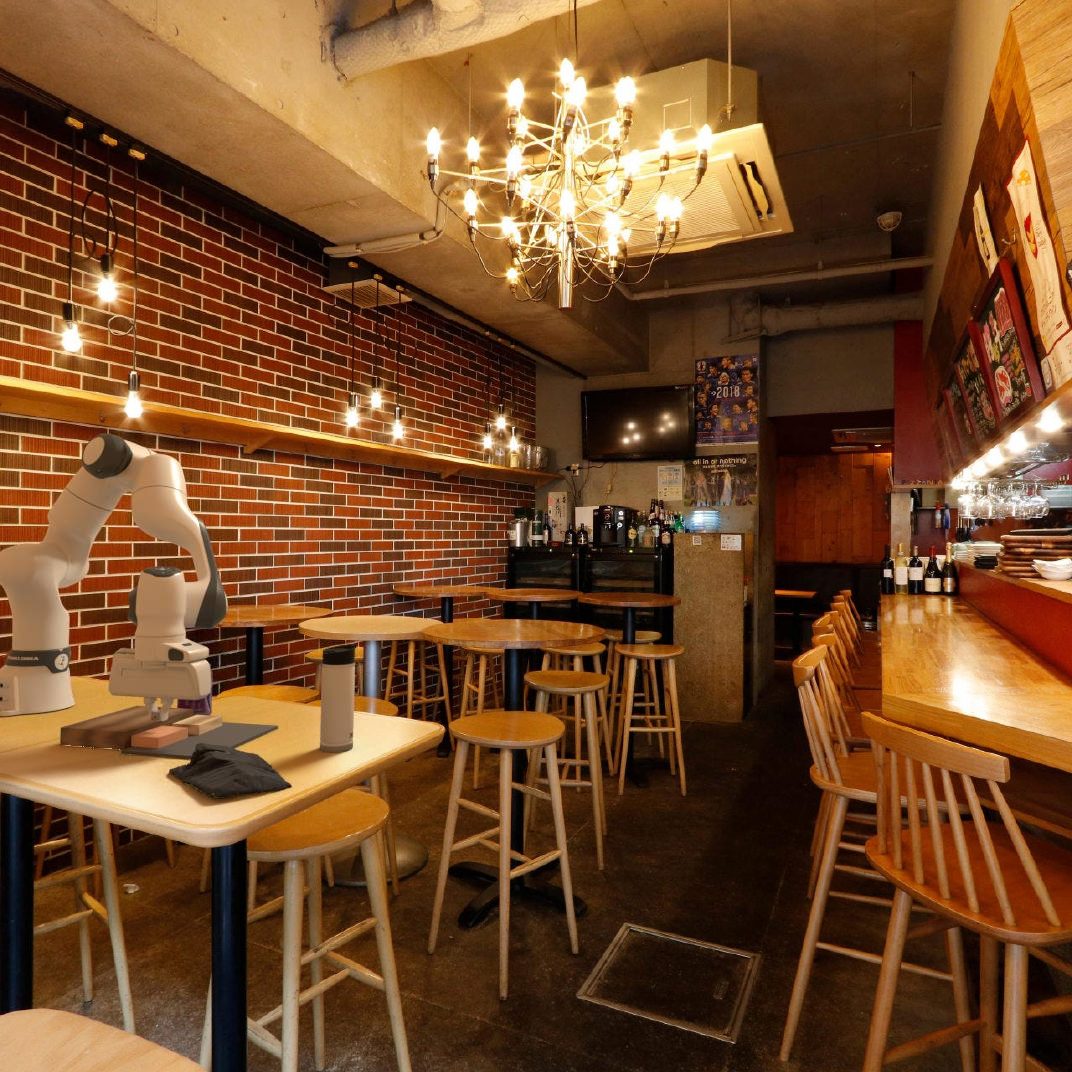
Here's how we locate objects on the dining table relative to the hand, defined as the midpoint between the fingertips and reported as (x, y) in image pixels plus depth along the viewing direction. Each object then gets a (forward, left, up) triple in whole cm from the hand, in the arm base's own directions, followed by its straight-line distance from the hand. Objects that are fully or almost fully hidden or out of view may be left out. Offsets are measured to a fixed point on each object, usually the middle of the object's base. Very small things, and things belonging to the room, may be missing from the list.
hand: (158, 720), depth 138 cm
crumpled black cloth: (+26, -15, -6) cm, 31 cm away
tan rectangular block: (+1, +10, -4) cm, 11 cm away
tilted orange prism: (+1, 0, -4) cm, 4 cm away
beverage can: (-7, +21, -5) cm, 23 cm away
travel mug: (+35, +6, -5) cm, 36 cm away
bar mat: (+7, +5, -5) cm, 10 cm away
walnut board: (-10, +5, -5) cm, 12 cm away
